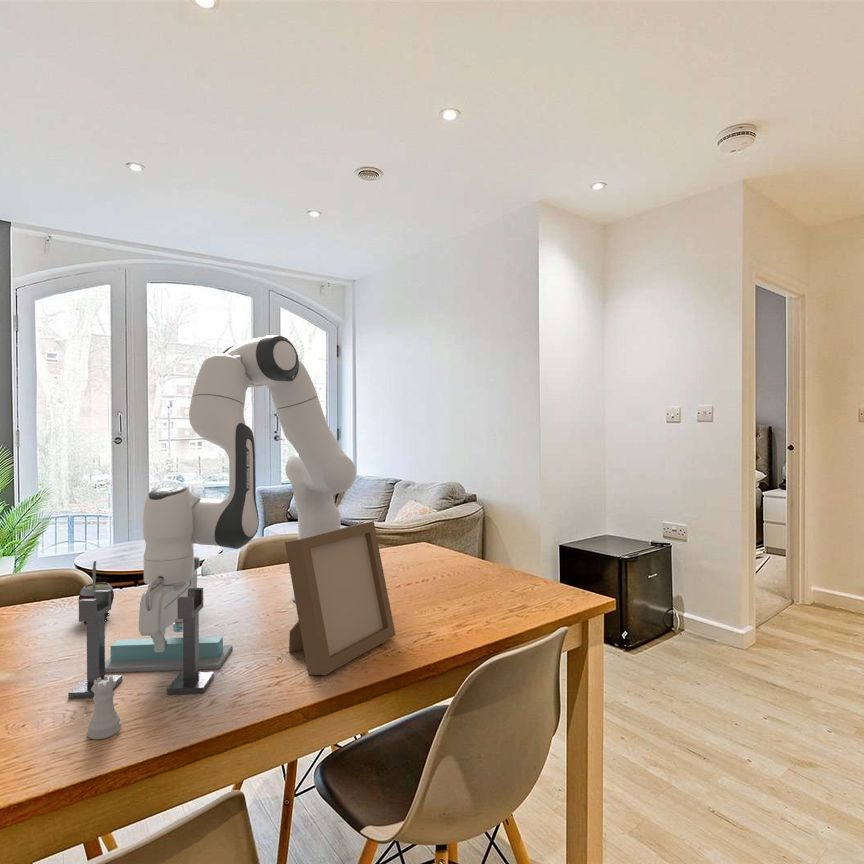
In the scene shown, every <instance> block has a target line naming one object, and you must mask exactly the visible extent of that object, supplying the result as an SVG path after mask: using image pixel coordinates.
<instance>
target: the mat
mask: <svg viewBox="0 0 864 864" xmlns="http://www.w3.org/2000/svg"><path fill="white" fill-rule="evenodd" d="M232 650H233V645H232V644H227V645H226V644H225V645H224V644H223V652H222V653H221V655H220V656H219V658H199V670H215V669H216V670H219V669H220V668H222V666H223V664H224V663H225V661H226V660H227V658H228V656H229V655H230V653H231V651H232ZM136 671H137V672H160V671H161V672H163V671H183V659H165V660H135V661H111V656H110V657H109V658H108V659H107V660H105V674H106V673H129V672H130V673H133V672H136Z"/></svg>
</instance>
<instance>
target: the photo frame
mask: <svg viewBox="0 0 864 864" xmlns="http://www.w3.org/2000/svg"><path fill="white" fill-rule="evenodd" d="M377 537H378V536H377V531H376V527H375V521H374V520H372V521H367V522H362V523H358V524H352V525H349V526H344V527H341V528H340V529H336V530H332V531H328V532H324V533H320V534H316V535H312V536H308V537H304V538H300V539H298V538H296V539H293V540H289V541H285V542H284V545H285V550H286V556H287V560H288V561H287V562H288V568H289V572H290V579H291V585H292V590H293V592H294V596H295V601H294V602H295V607H296V612H297V618H298V620H297V622H296V623H294V625H293V626H292V628H291V629H290V630H289V635H288V636H289V638H288V641H289V642H288V643H289V645H288V652H289V653H294V652H299V651H303V652H304V657H305V658H304V659H305V665H306V668H307V669H306V670H307V674H308V675H309V676H311V675H313V676H317V675H318V676H320V675H321V676H325V675H327V674H329V673H331V672H333V671H335V670H337V669H338V668H340V667H341V666H343V665H345V664H347V663H348V662H350V661H352V660H354V659H356V658H358V657H360V656H362V655H363V654H365V653H366V652H368V651H370V650H372V649H374V648H375V647H377V646H379V645H381V644H382V643H385V642H386V641H388V640H389V639H391V638H393V637H394V636H396V629H395V624H394V619H393V615H392V610H391V605H390V599H389V594H388V588H387V583H386V578H385V572H384V567H383V563H382V557H381V552H380V547H379V542H378V538H377Z"/></svg>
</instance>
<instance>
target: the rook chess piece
mask: <svg viewBox="0 0 864 864" xmlns="http://www.w3.org/2000/svg"><path fill="white" fill-rule="evenodd" d="M108 676H109V675H105V676H104V680H101V677H100V678H98V679H97V680H95V681H94V685H93V686H92V688H91V690H92V691H93V692H94V693H95V695H94V697H93V698H92V700H93V702H94V703H93V712H92V716H91V718H90V720H89V722H88V724H87V726H86V727H87V731H86V736H87V737H88V738H89V739H91V740H94V741H100V740H104V739H108V738H110V737H112V736H114V735H116V734H117V733H118V732H119V730H120V728H121V727H122V725H121V723H120V722H121V717H120V715H119V714H118V713H117V711H116V708H115V704H114V696H115V692H114V689H115V688H116V687H115V685H116V682H114V681H113V677H111V676H110V677H109V679H108ZM114 687H115V688H114ZM113 688H114V689H113Z"/></svg>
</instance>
